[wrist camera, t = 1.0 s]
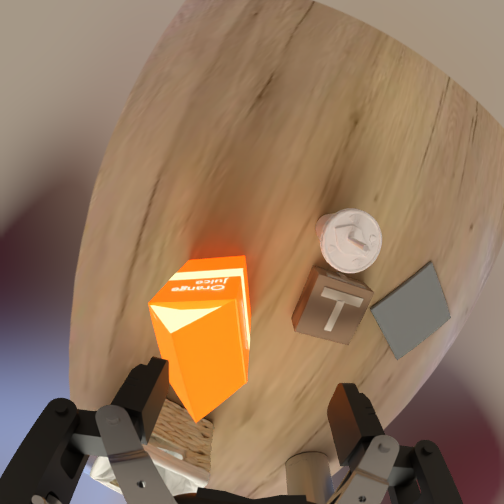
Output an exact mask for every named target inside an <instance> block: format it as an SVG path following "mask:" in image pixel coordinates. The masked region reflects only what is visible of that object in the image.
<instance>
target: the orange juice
mask: <svg viewBox="0 0 504 504" xmlns="http://www.w3.org/2000/svg"><path fill="white" fill-rule="evenodd" d="M148 305H149V310H150V314H151V318H152V322H153V326H154V330H155V334H156V338H157V342H158V346H159V349H160V353H161V356H162V359H166V360H168V361H169V382H170V384H171V386H172V387H173V389H174V390H175V392H176V394H177V395H178V397H179V398H180V400H181V401H182V403H183V404H184V406H185V408H186V409H187V411H188V412H189V414H190V415H191V416H192V418H193V419H194V421H195V422H196V424H197V422H198V421H199V420H200V419H202V418H203V417H204V416H206V415H207V414H208V413H209V412H211V411H212V410H213V409H215V408H216V407H217V406H218V405H219V404H221V403H222V402H223V401H224V400H226V399H227V398H228V397H229V396H230V395H232V394H233V393H234V392H235V391H236V390H238V389H239V388H240V387H241V386H242V385H243V384H245V383H247V381H248V380H247V372H248V357H249V347H250V326H251V311H250V301H249V290H248V280H247V270H246V259H245V256H234V257H221V258H208V259H195V260H188V262H187V263H186V264H185V265H184V266H183V267H182V268H181V269H180V270H179V271H178V272H177V273H175V274H174V275H173V276H172V277H171V279H170V280H169V281H168V282H167V284H166V285H165V286H164V287H163V288H162V289H161V290H160V291H159V292H158V293H157V294H156V295H155V296H154V297H153V298H152V300H151V301H150V302H149V303H148Z"/></svg>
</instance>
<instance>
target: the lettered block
mask: <svg viewBox="0 0 504 504" xmlns="http://www.w3.org/2000/svg"><path fill="white" fill-rule="evenodd" d="M373 294H374V292H373V291H372V290H371V289H370V288H369V287H368V286H367V285H366V284H365V283H364V282H361V281H358V280H355V279H352V278H349V277H346V276H345V275H344V274H341V273H339V272H337V273H334V272H331V271H328V270H325V269H322V268H319V267H316V266H313V267H312V269H311V272H310V274H309V277H308V279H307V282H306V284H305V287H304V289H303V291H302V294H301V296H300V299H299V301H298V304H297V306H296V308H295V311H294V313H293V315H292V323H293V327H294V331H295V332H299V333H302V334H306V335H310V336H314V337H317V338H321V339H325V340H329V341H333V342H337V343H342V344H346V345H349V343H350V341H351V339H352V338H353V336H354V334H355V332H356V330H357V328H358V326H359V324H360V322H361V320H362V318H363V316H364V314H365V312H366V309H367V307H368V305H369V303H370V301H371V299H372V297H373Z"/></svg>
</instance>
